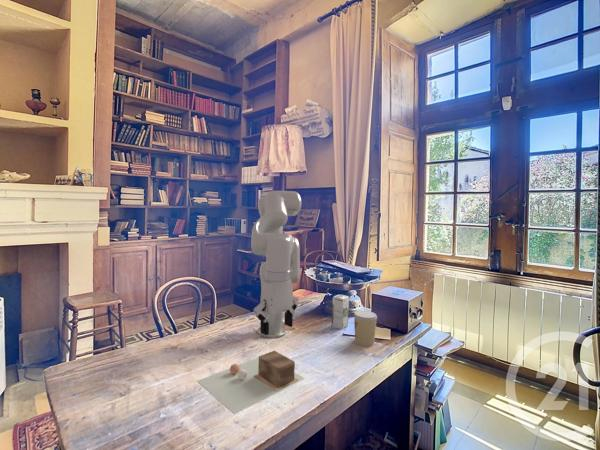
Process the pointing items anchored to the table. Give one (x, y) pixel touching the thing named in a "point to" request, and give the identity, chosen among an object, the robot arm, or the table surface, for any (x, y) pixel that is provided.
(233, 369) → the terracotta ball
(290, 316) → the robot arm
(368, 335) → the coffee cup
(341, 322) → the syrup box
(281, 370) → the walnut cover
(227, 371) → the sage board
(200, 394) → the table surface
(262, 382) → the cork pad
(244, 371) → the cream ball
